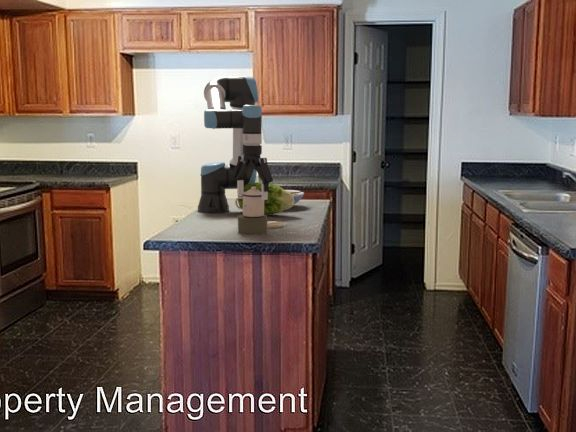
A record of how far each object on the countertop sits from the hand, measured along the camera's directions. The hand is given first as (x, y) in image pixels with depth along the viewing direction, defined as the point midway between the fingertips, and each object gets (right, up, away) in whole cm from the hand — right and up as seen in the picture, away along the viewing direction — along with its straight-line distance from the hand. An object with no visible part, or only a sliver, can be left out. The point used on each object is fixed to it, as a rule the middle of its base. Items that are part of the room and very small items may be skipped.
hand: (252, 198), depth 248 cm
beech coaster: (+7, -11, +16) cm, 21 cm away
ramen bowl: (+11, -3, +68) cm, 69 cm away
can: (0, -14, +2) cm, 14 cm away
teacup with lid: (-1, -7, +2) cm, 7 cm away
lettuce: (+4, -7, +42) cm, 43 cm away
